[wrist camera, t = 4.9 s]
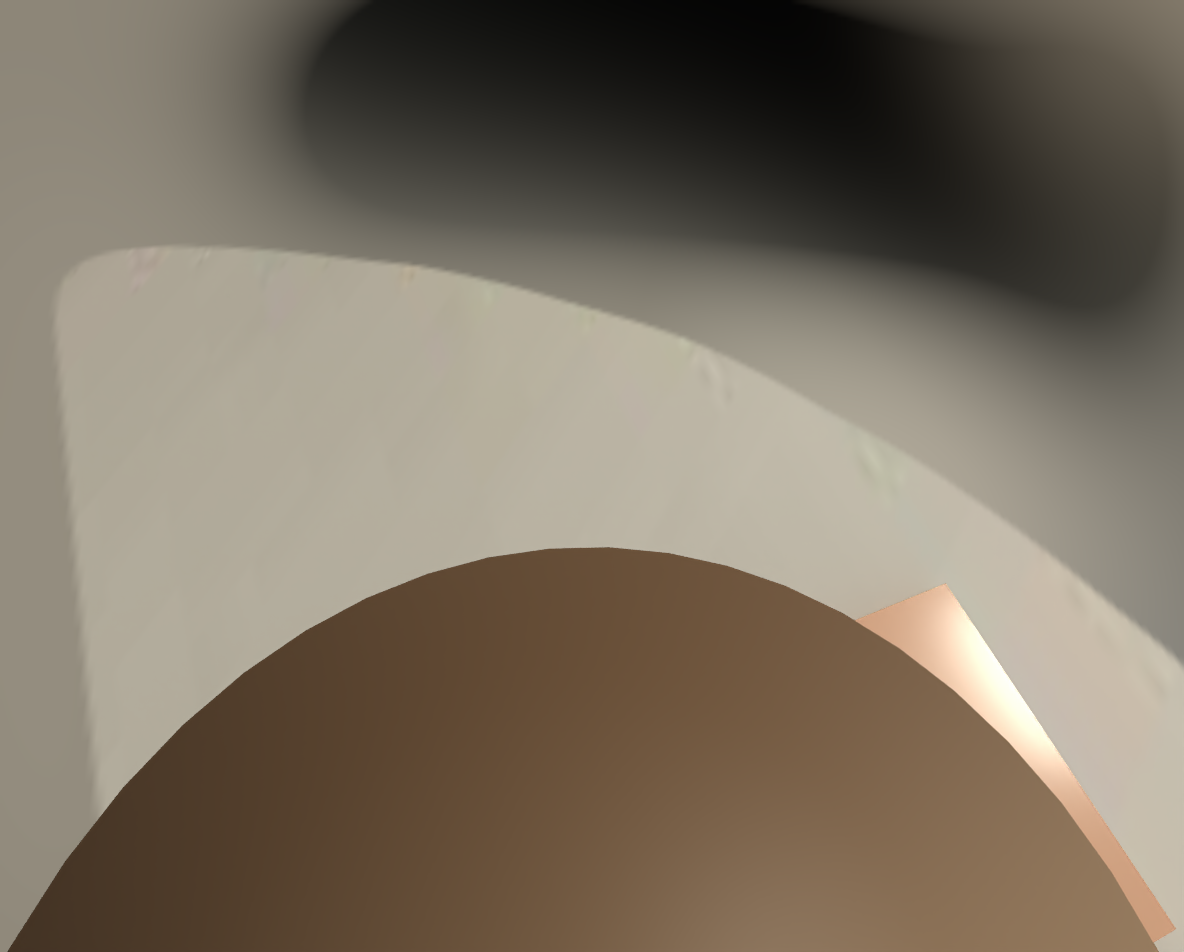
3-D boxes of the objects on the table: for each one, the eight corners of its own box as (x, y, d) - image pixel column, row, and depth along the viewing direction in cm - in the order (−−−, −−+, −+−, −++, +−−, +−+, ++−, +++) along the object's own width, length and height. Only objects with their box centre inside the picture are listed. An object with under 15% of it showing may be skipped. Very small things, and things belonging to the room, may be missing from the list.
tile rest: (1147, 927, 20) (1176, 929, 19) (831, 1118, 17) (847, 1129, 16) (930, 594, 24) (945, 583, 23) (654, 708, 22) (658, 700, 21)
